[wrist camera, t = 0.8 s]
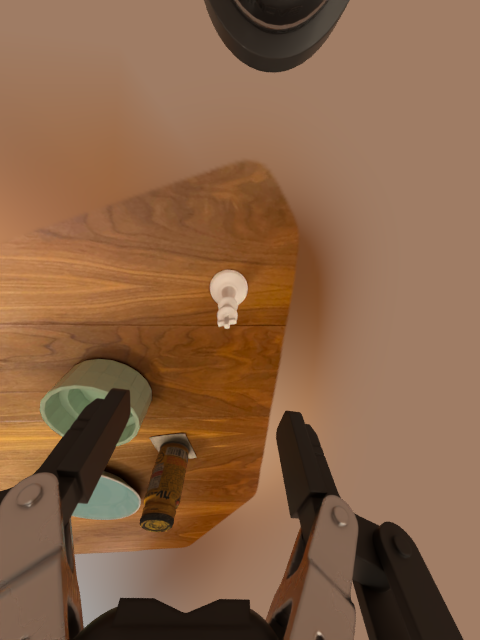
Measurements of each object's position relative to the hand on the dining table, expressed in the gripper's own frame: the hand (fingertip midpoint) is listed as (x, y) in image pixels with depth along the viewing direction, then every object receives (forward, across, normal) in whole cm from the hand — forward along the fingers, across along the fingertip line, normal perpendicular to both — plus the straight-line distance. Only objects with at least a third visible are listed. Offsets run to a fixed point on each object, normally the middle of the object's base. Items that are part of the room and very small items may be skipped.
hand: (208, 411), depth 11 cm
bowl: (+19, +15, +21) cm, 32 cm away
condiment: (+19, +4, +36) cm, 41 cm away
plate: (+19, +21, +54) cm, 61 cm away
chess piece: (+19, -1, 0) cm, 19 cm away
